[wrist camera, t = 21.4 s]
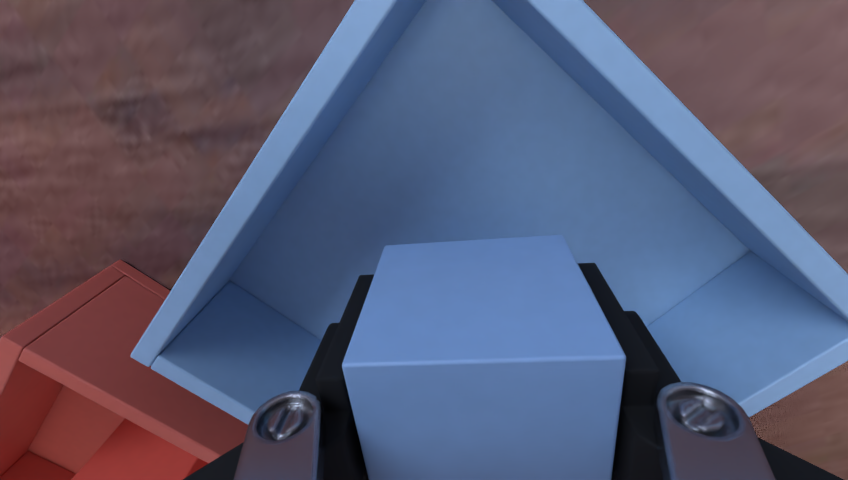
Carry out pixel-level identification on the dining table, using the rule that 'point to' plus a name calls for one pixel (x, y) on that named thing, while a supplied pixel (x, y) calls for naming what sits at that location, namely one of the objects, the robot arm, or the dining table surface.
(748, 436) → the robot arm
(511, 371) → the blue block
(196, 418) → the red bin
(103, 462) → the red block
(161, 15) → the dining table surface
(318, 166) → the blue bin
